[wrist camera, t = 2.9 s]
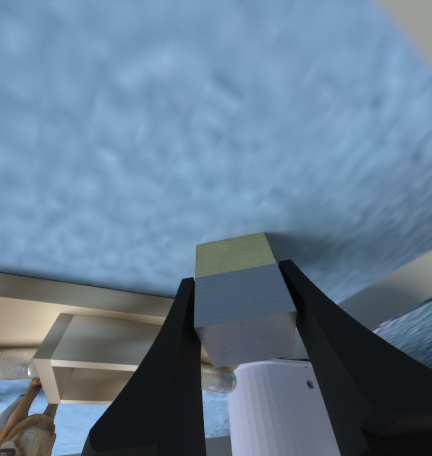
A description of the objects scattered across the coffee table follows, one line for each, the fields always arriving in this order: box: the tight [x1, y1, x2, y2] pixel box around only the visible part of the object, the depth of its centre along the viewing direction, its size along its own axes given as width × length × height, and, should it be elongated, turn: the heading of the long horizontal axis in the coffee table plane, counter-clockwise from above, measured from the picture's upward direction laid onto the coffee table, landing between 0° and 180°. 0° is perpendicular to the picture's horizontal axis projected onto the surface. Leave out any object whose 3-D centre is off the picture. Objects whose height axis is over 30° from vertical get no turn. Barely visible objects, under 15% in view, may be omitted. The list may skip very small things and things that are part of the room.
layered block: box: [194, 232, 297, 368], centre depth 11 cm, size 4×4×5 cm
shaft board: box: [0, 273, 240, 405], centre depth 15 cm, size 21×9×4 cm, turn 71°
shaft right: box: [201, 363, 237, 394], centre depth 17 cm, size 7×2×2 cm, turn 56°
